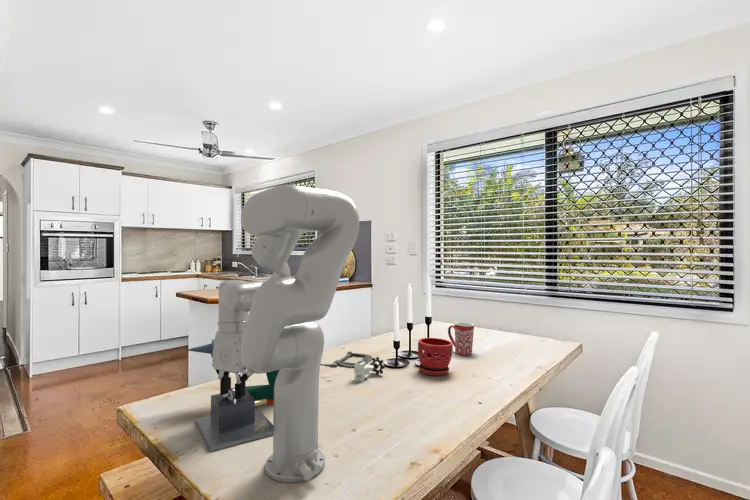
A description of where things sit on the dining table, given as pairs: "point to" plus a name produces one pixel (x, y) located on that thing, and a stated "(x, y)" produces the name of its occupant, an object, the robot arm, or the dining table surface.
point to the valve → (367, 369)
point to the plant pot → (434, 355)
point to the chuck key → (230, 394)
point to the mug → (462, 337)
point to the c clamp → (350, 365)
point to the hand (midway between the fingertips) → (232, 394)
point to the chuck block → (234, 422)
